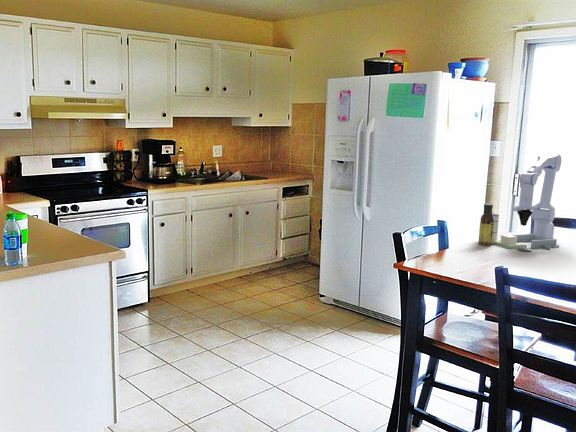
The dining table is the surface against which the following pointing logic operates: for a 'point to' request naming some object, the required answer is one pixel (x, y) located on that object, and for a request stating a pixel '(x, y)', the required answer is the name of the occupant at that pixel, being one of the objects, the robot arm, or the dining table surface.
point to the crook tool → (550, 246)
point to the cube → (508, 239)
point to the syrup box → (495, 226)
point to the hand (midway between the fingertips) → (523, 225)
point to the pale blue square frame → (535, 240)
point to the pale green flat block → (509, 245)
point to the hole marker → (524, 250)
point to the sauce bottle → (486, 226)
